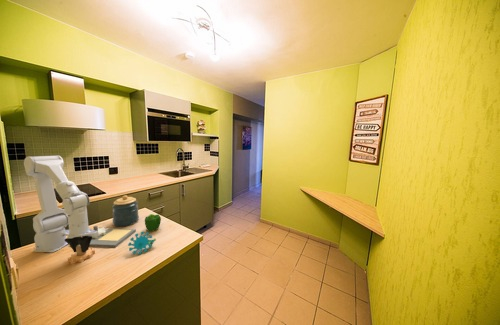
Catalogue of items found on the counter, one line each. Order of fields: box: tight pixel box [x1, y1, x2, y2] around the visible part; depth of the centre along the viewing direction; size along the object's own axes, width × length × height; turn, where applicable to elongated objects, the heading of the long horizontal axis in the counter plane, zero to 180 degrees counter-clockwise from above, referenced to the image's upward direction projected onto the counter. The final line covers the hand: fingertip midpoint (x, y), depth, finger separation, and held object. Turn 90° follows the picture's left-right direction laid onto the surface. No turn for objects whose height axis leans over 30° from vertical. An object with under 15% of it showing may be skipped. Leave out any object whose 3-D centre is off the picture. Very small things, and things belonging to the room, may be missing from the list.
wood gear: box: [67, 244, 96, 265], centre depth 70 cm, size 8×8×6 cm
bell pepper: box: [144, 213, 162, 232], centre depth 94 cm, size 8×8×10 cm
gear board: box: [89, 225, 137, 248], centre depth 84 cm, size 22×14×6 cm, turn 90°
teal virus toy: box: [127, 231, 157, 255], centre depth 78 cm, size 11×6×10 cm
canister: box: [111, 194, 140, 228], centre depth 100 cm, size 13×13×18 cm
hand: (81, 250), depth 70 cm, fingers closed on wood gear, 3 cm apart
